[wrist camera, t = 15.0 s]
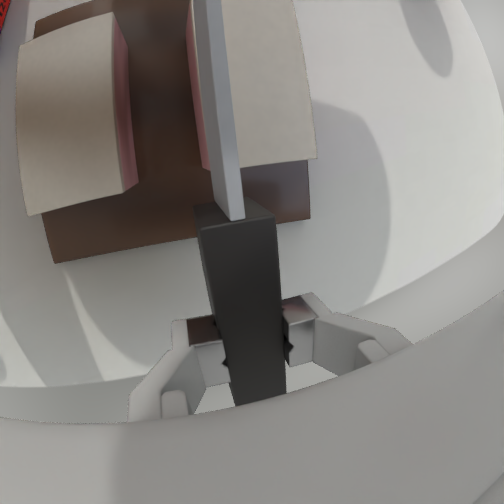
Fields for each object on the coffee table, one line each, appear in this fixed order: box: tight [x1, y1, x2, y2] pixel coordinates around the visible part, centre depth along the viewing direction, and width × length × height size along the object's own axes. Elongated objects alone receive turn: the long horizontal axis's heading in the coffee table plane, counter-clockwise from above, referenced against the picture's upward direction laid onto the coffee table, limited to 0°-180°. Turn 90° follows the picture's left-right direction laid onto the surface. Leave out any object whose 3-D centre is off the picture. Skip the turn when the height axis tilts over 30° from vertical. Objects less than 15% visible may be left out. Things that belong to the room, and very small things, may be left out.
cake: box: [15, 0, 310, 264], centre depth 12 cm, size 18×18×6 cm
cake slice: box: [186, 0, 317, 171], centre depth 13 cm, size 9×5×5 cm, turn 8°
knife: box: [192, 0, 286, 406], centre depth 8 cm, size 17×2×3 cm, turn 7°
